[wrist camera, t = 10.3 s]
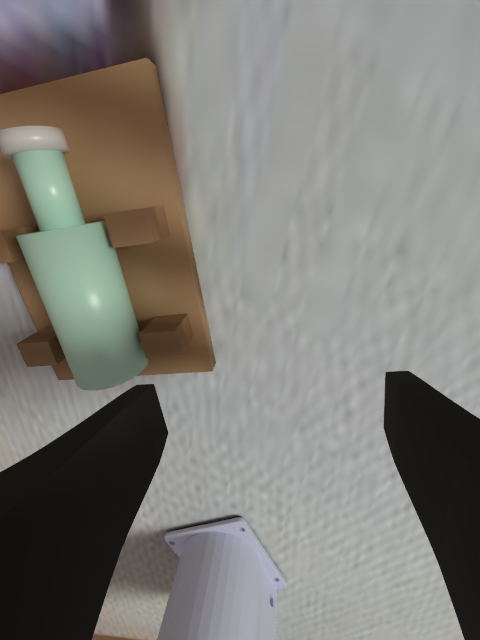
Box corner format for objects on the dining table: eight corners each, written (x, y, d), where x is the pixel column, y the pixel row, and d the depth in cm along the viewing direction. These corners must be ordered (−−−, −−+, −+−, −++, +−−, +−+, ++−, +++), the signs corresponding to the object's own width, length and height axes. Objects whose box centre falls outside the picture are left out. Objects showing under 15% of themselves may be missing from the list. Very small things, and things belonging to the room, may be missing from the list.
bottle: (146, 346, 20) (149, 376, 17) (82, 363, 19) (70, 398, 16) (85, 137, 16) (71, 117, 12) (-3, 146, 15) (-47, 127, 11)
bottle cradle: (215, 362, 21) (203, 394, 17) (67, 372, 23) (33, 402, 19) (155, 65, 15) (120, 33, 11) (-40, 113, 17) (-115, 96, 13)
